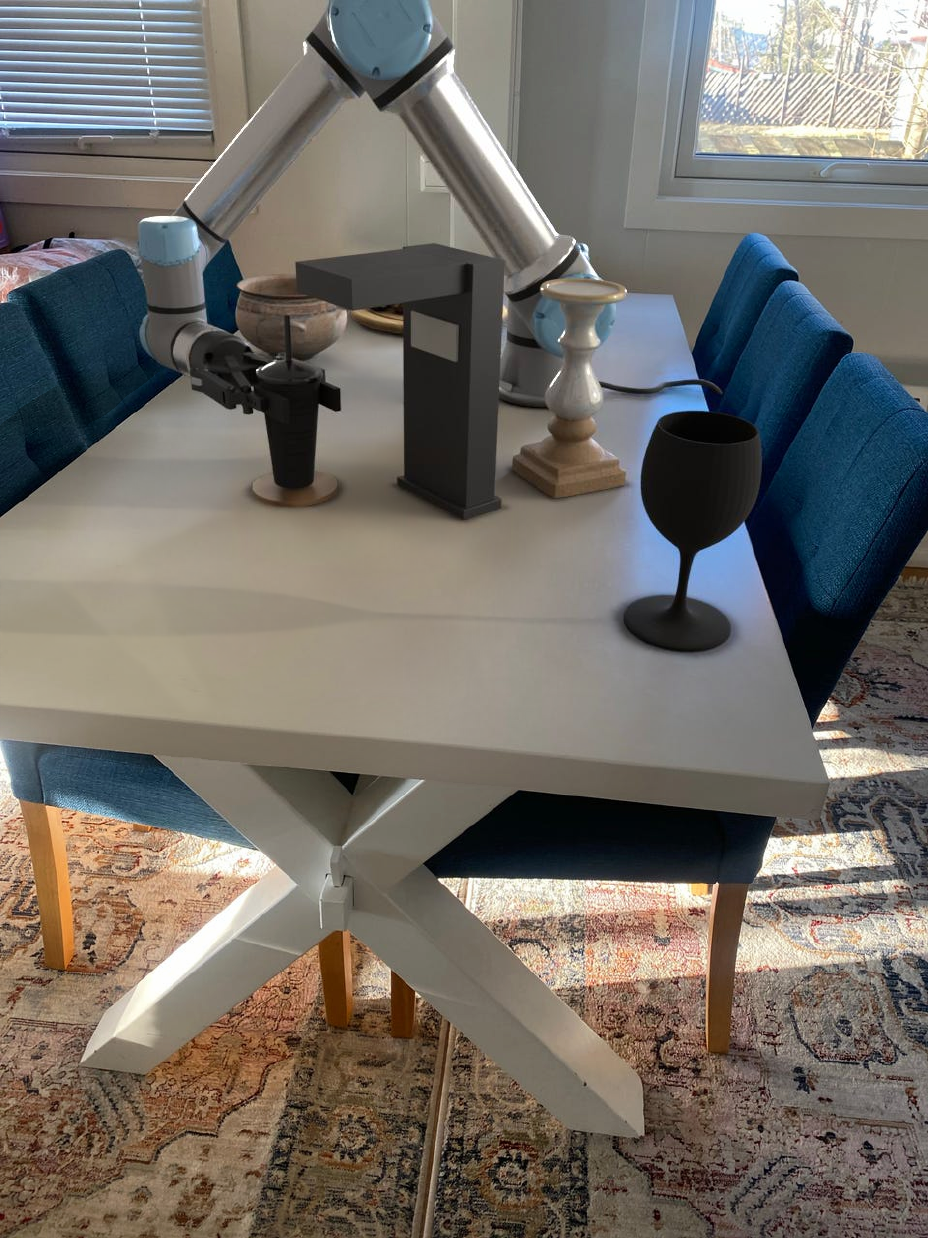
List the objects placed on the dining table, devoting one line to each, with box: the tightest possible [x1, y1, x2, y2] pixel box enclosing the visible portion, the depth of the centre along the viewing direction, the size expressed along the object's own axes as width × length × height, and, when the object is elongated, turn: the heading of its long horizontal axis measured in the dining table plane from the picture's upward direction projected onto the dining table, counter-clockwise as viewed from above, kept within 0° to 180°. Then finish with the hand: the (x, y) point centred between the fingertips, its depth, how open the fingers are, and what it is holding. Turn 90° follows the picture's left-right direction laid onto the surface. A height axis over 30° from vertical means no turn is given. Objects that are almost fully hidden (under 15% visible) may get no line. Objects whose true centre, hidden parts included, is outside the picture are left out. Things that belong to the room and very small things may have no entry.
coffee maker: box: [294, 242, 505, 521], centre depth 109 cm, size 20×13×28 cm, turn 130°
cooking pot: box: [235, 273, 348, 362], centre depth 168 cm, size 25×19×12 cm
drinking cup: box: [256, 315, 323, 489], centre depth 115 cm, size 8×8×20 cm
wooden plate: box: [349, 303, 508, 335], centre depth 195 cm, size 32×32×8 cm
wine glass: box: [623, 410, 763, 653], centre depth 90 cm, size 10×10×20 cm
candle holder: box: [511, 278, 628, 499], centre depth 120 cm, size 11×11×24 cm
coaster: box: [251, 470, 339, 508], centre depth 120 cm, size 10×10×1 cm
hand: (312, 405), depth 111 cm, fingers closed on drinking cup, 6 cm apart
